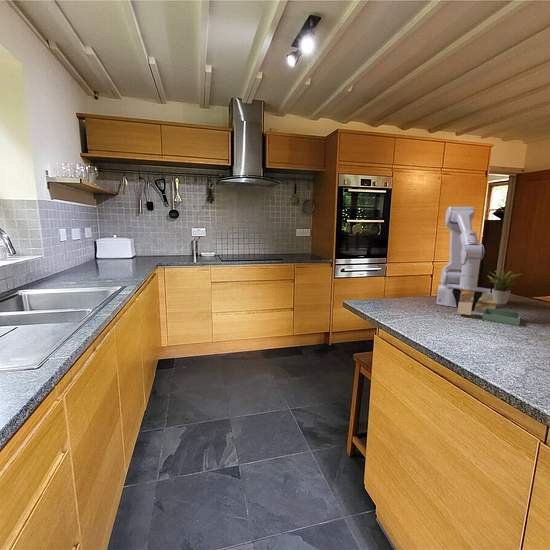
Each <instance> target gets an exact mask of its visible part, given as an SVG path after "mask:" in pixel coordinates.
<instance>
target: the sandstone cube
mask: <svg viewBox="0 0 550 550" xmlns="http://www.w3.org/2000/svg"><path fill="white" fill-rule="evenodd" d="M472 305H473V302H472V301H470V300H463V299H461V300H460V301H459V303H458V308H457V312H456V313H458V314H462V315H466V316H467V315H468V316H469V315H470V316H472V314H473V311H472Z"/></svg>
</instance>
